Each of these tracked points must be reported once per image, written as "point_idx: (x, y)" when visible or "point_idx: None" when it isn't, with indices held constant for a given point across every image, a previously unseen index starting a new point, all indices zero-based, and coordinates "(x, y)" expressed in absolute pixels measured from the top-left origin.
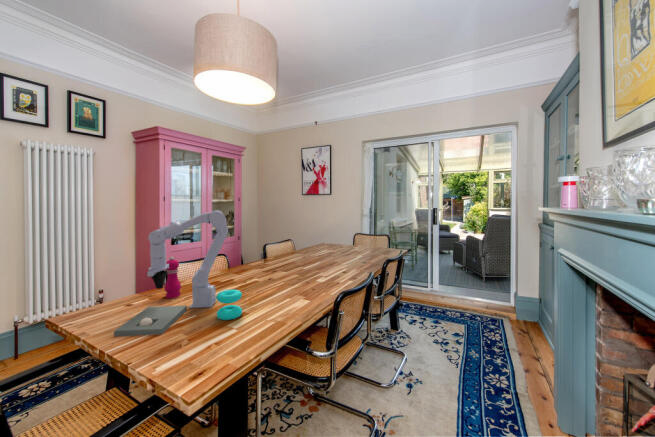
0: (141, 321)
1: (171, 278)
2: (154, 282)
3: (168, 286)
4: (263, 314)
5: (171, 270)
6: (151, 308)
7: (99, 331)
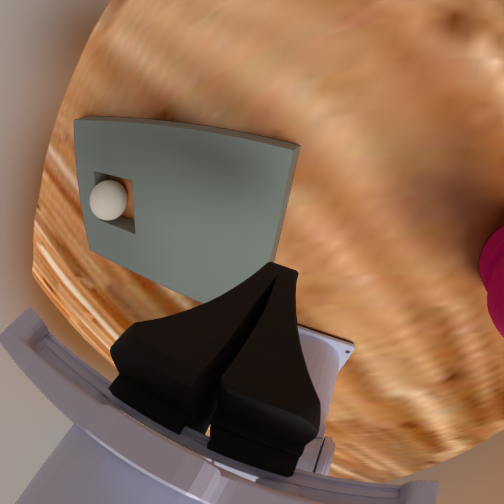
0: (91, 193)
1: None
2: (228, 293)
3: None
4: None
5: None
6: (258, 177)
7: (121, 40)
